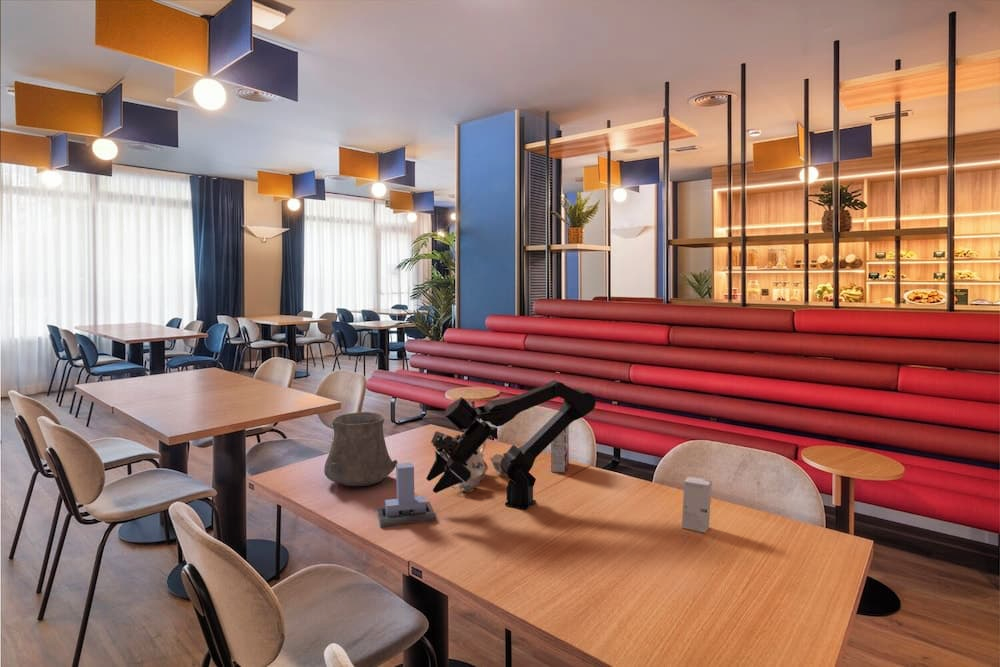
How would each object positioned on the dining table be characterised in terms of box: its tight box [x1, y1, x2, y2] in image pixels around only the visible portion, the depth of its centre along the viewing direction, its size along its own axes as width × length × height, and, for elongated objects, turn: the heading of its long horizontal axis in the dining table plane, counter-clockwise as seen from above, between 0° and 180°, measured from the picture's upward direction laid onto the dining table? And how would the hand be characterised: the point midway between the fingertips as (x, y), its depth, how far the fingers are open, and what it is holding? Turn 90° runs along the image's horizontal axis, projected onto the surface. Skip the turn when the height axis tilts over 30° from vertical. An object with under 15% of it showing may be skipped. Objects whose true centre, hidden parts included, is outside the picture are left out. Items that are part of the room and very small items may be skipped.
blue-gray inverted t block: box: [384, 461, 427, 517], centre depth 153 cm, size 10×4×14 cm, turn 107°
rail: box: [376, 501, 436, 528], centre depth 154 cm, size 14×8×2 cm, turn 107°
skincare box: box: [681, 475, 713, 533], centre depth 147 cm, size 6×4×12 cm
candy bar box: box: [550, 424, 570, 474], centre depth 193 cm, size 11×5×16 cm, turn 168°
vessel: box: [323, 411, 399, 487], centre depth 180 cm, size 22×22×20 cm
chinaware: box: [450, 432, 507, 492], centre depth 182 cm, size 28×17×17 cm, turn 148°
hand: (430, 485), depth 155 cm, fingers open, 9 cm apart
